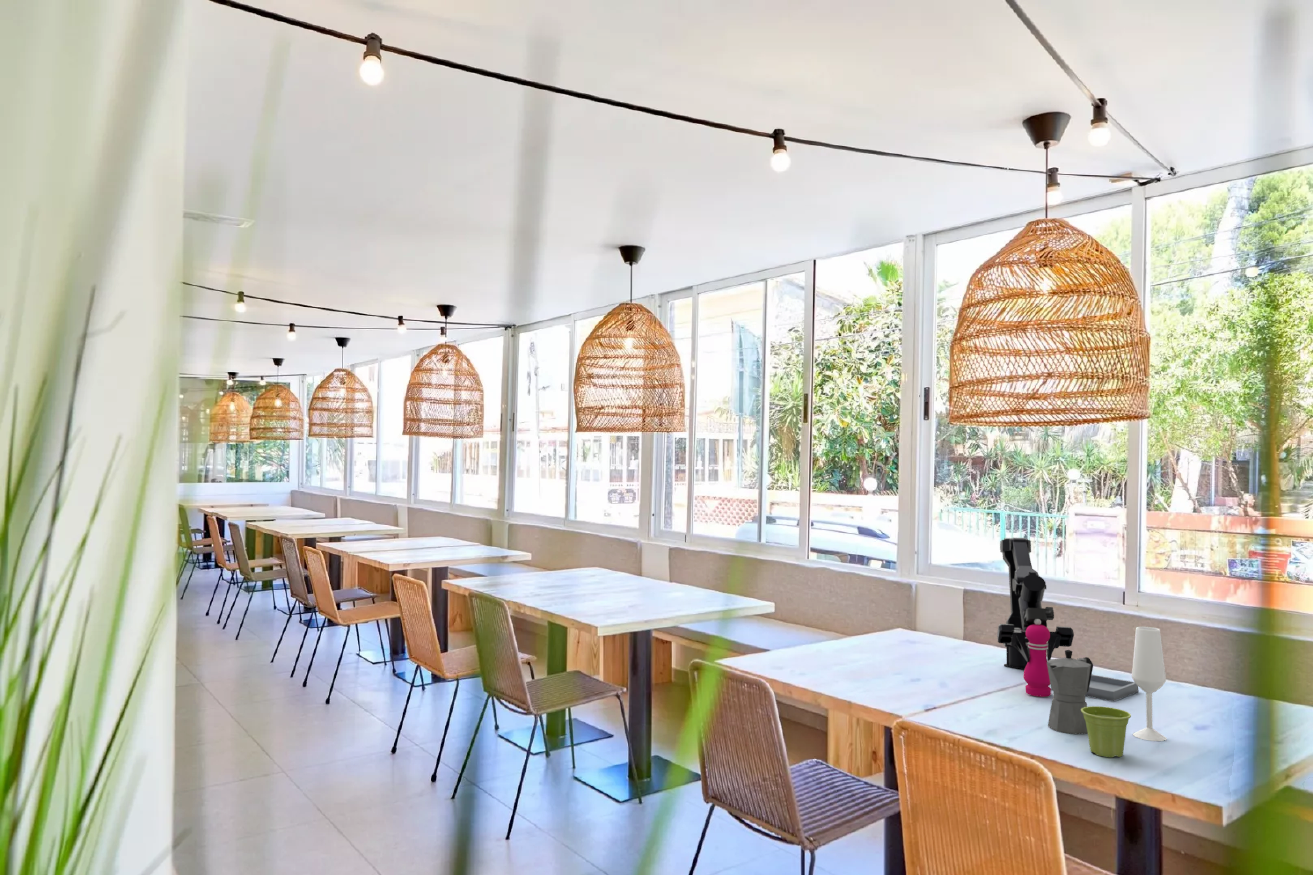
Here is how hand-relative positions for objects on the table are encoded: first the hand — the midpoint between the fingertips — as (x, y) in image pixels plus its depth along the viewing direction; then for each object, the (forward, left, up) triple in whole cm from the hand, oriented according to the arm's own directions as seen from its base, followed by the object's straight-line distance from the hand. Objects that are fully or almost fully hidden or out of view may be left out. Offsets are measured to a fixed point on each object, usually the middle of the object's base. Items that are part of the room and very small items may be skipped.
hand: (1038, 661), depth 232 cm
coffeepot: (+19, -23, -9) cm, 31 cm away
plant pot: (+32, -36, -9) cm, 49 cm away
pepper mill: (-1, +1, -9) cm, 9 cm away
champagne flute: (+33, -16, -9) cm, 38 cm away
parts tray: (+7, +17, -9) cm, 21 cm away
